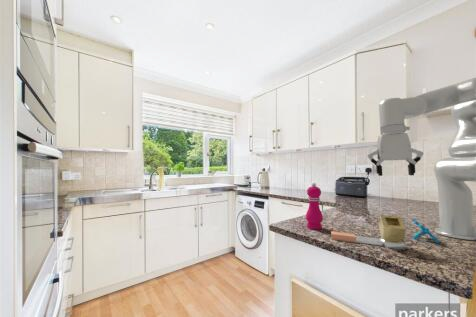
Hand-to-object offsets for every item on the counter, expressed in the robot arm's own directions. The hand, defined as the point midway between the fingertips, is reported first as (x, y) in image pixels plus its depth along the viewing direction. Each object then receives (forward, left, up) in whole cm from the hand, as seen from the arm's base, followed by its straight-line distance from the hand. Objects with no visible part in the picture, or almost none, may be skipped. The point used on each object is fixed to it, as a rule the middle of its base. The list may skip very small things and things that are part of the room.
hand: (395, 175), depth 77 cm
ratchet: (+11, +9, -24) cm, 28 cm away
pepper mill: (+30, -2, -24) cm, 38 cm away
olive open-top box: (+4, +8, -21) cm, 22 cm away
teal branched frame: (-10, -4, -25) cm, 27 cm away
